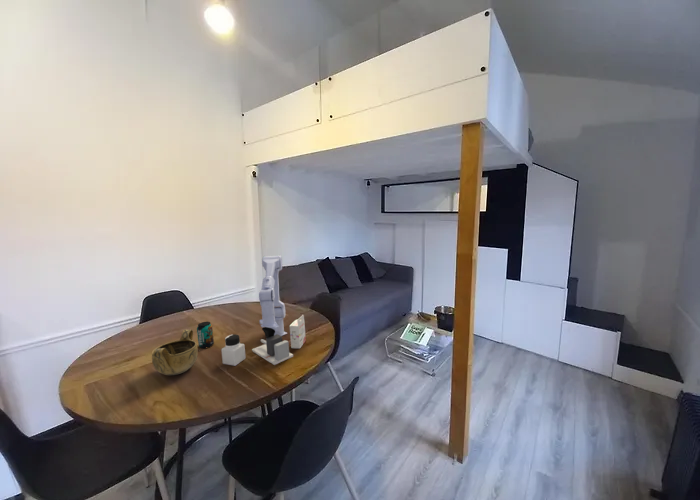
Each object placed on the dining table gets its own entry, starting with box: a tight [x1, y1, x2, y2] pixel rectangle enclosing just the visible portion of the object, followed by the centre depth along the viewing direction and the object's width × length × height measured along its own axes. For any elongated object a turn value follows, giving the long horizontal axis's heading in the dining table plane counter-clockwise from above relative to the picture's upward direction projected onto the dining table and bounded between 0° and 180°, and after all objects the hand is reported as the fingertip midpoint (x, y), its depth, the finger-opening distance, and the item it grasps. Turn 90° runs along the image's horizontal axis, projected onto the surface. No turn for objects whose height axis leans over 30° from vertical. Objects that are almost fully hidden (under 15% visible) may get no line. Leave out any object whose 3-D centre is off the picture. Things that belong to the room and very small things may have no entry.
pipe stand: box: [251, 338, 294, 366], centre depth 136 cm, size 20×10×8 cm, turn 46°
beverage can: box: [196, 321, 215, 349], centre depth 147 cm, size 7×7×12 cm
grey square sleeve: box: [265, 334, 283, 356], centre depth 134 cm, size 4×6×8 cm, turn 137°
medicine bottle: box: [221, 333, 247, 367], centre depth 130 cm, size 7×7×12 cm
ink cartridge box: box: [289, 314, 307, 349], centre depth 144 cm, size 9×5×15 cm, turn 168°
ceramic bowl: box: [151, 329, 199, 376], centre depth 123 cm, size 22×17×15 cm
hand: (270, 341), depth 136 cm, fingers closed
